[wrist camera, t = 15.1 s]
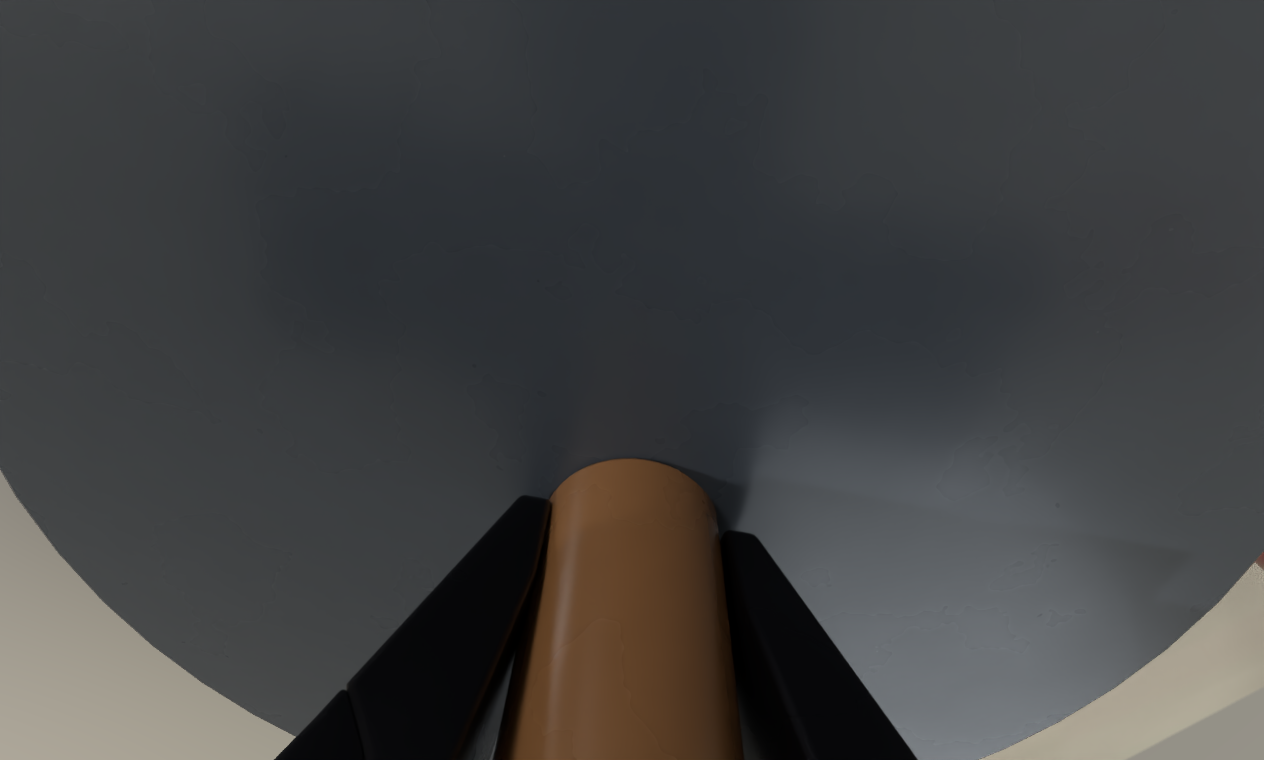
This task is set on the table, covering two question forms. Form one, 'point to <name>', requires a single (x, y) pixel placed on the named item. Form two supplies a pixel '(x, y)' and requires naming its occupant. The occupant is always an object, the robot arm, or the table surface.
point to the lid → (643, 338)
